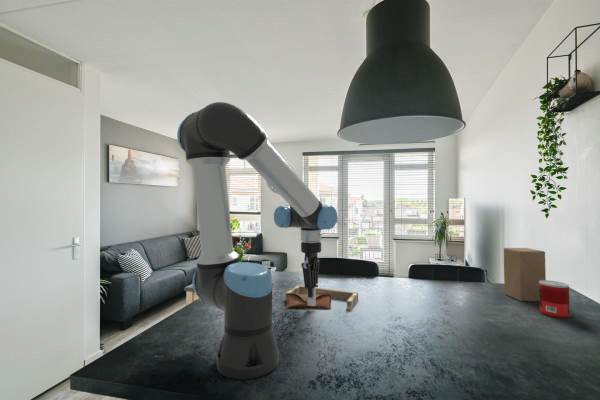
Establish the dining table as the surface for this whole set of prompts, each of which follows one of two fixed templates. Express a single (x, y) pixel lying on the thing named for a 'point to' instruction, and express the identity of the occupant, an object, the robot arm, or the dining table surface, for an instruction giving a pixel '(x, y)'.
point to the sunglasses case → (302, 301)
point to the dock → (349, 296)
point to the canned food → (554, 299)
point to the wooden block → (523, 273)
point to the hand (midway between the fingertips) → (311, 305)
